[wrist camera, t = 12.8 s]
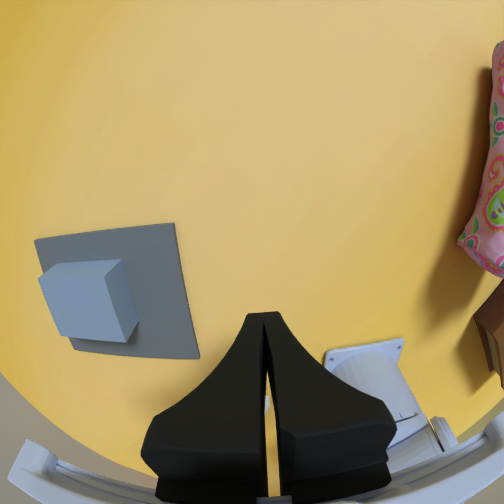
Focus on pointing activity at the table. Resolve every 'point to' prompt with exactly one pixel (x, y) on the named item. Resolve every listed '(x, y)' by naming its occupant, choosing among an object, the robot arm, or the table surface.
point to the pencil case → (490, 186)
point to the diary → (493, 330)
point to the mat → (136, 287)
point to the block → (90, 300)
